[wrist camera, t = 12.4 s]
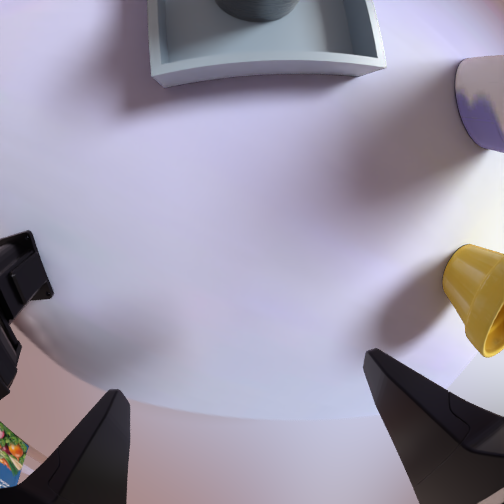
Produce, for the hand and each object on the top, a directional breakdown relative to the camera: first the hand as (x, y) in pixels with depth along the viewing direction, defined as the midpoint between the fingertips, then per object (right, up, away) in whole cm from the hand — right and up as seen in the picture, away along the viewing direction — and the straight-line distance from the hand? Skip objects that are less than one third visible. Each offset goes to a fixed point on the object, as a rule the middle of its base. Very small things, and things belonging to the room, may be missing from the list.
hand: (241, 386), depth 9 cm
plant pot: (+24, +3, +17) cm, 29 cm away
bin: (+1, +23, +5) cm, 23 cm away
